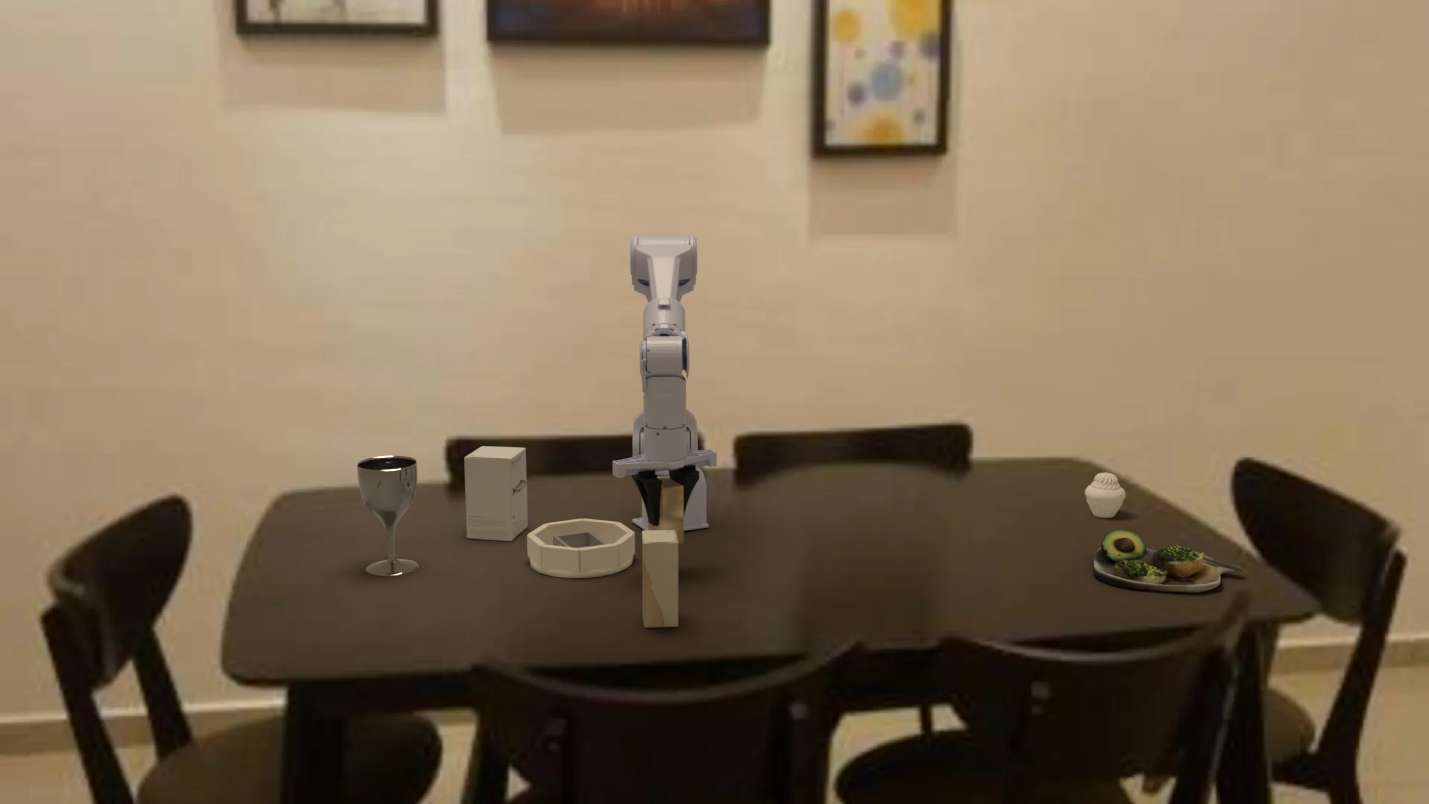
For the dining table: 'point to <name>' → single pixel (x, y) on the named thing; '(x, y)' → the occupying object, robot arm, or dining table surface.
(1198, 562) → the salad plate
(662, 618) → the box
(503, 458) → the supplement box
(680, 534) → the tan wooden block
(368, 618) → the dining table surface
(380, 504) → the wine glass
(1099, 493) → the muffin
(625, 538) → the octagonal cream tray
